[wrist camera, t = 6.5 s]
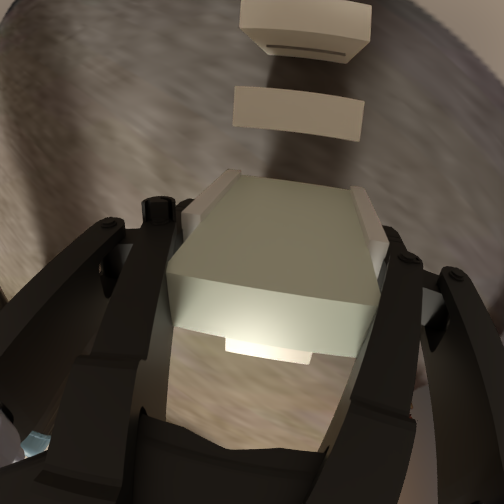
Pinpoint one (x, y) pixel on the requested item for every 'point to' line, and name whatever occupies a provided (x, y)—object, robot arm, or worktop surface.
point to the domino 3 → (277, 269)
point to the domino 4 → (268, 351)
